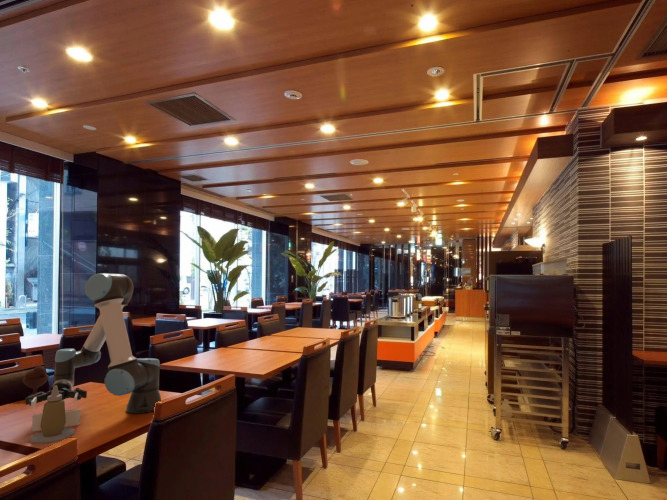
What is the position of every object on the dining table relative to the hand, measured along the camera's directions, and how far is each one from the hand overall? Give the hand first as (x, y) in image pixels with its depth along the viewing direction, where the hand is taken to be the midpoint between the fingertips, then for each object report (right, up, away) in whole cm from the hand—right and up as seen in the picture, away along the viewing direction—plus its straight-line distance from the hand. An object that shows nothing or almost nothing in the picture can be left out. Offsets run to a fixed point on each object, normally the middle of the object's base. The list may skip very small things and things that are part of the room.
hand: (54, 402), depth 152 cm
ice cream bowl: (-49, -18, +55) cm, 76 cm away
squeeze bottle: (-1, -12, 0) cm, 12 cm away
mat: (-1, -13, 0) cm, 13 cm away
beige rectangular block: (-6, -14, +10) cm, 18 cm away
